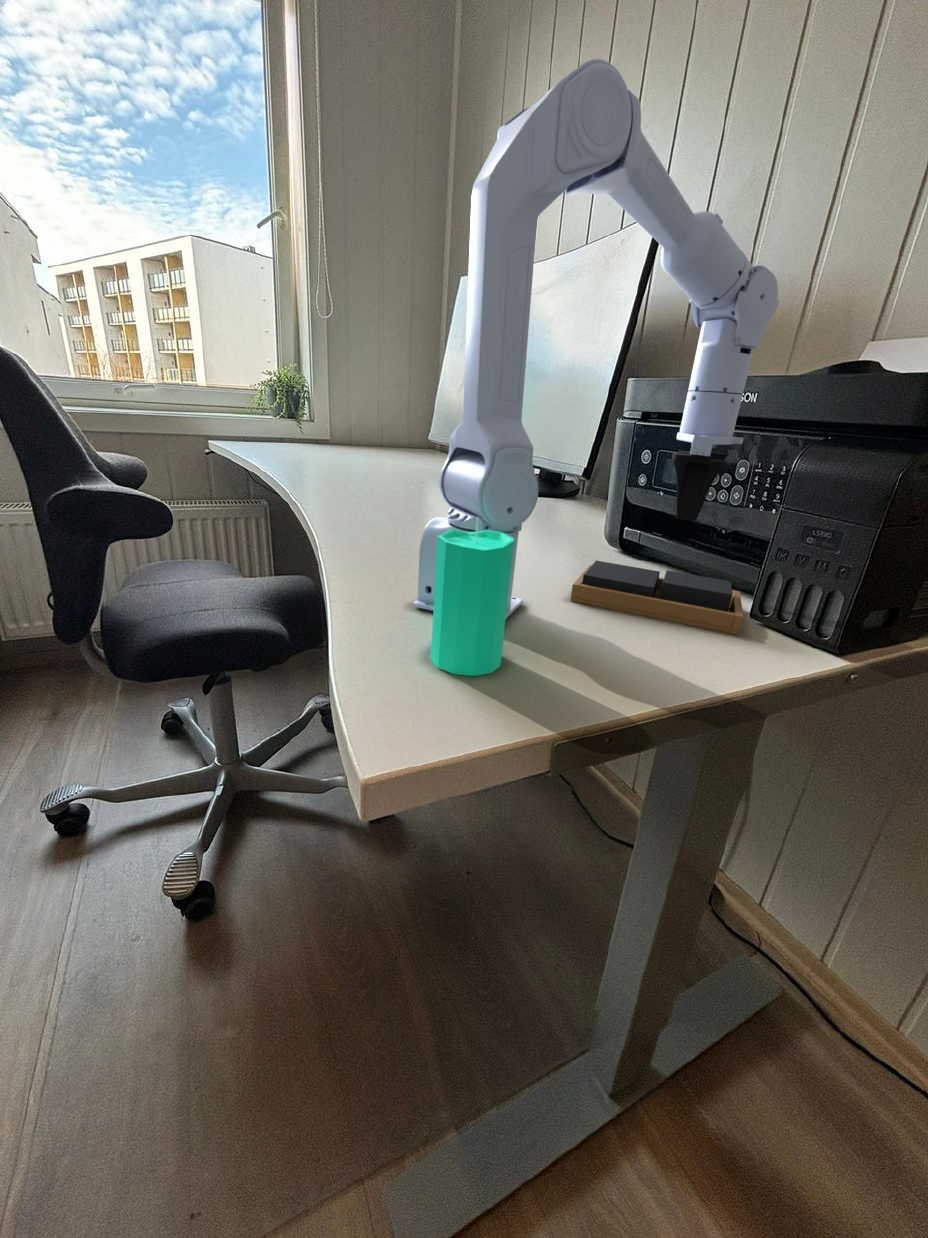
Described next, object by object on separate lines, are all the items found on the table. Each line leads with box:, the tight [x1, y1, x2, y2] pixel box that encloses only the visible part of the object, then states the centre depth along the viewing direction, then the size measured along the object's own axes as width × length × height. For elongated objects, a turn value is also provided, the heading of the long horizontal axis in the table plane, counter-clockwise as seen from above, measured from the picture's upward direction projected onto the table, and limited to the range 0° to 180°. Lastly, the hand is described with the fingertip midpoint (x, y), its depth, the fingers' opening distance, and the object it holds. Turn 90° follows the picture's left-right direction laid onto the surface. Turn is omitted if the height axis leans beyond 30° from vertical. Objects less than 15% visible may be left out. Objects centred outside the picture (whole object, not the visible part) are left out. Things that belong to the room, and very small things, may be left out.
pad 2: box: [659, 569, 733, 612], centre depth 61 cm, size 7×6×3 cm
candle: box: [430, 517, 514, 677], centre depth 44 cm, size 6×6×12 cm
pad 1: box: [582, 559, 661, 598], centre depth 64 cm, size 8×7×2 cm
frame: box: [569, 564, 745, 636], centre depth 63 cm, size 18×10×2 cm, turn 66°
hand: (687, 514), depth 66 cm, fingers open, 7 cm apart
